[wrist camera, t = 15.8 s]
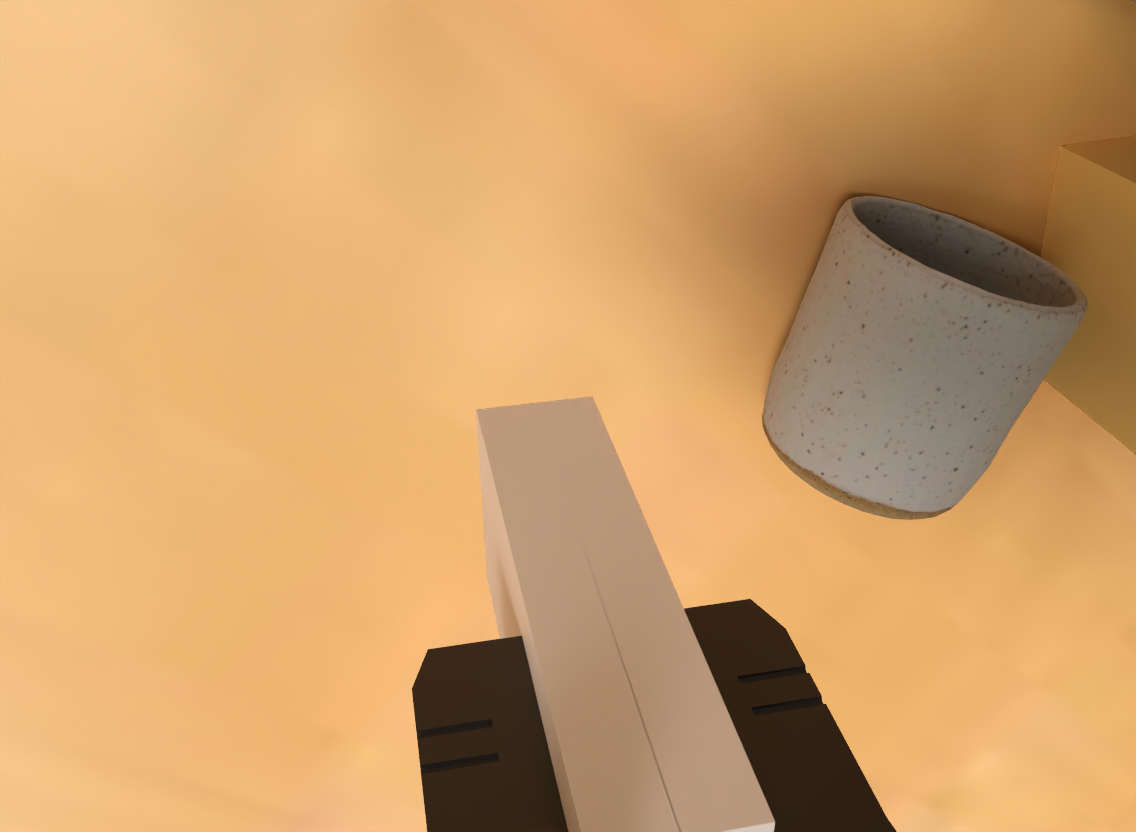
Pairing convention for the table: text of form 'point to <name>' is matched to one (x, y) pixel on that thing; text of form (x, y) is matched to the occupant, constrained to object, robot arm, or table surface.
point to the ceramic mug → (913, 357)
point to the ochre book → (1098, 278)
